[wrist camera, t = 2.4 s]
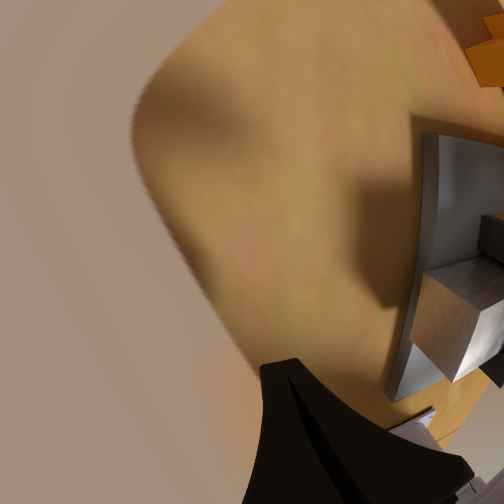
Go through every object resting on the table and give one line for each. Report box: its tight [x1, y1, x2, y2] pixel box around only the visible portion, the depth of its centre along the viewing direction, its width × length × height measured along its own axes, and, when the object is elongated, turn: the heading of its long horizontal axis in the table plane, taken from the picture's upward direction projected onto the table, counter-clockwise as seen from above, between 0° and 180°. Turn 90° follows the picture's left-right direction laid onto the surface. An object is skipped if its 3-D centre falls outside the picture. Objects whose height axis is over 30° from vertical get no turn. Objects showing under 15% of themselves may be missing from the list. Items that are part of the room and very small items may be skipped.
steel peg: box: [409, 254, 504, 383], centre depth 11 cm, size 4×10×4 cm, turn 95°
